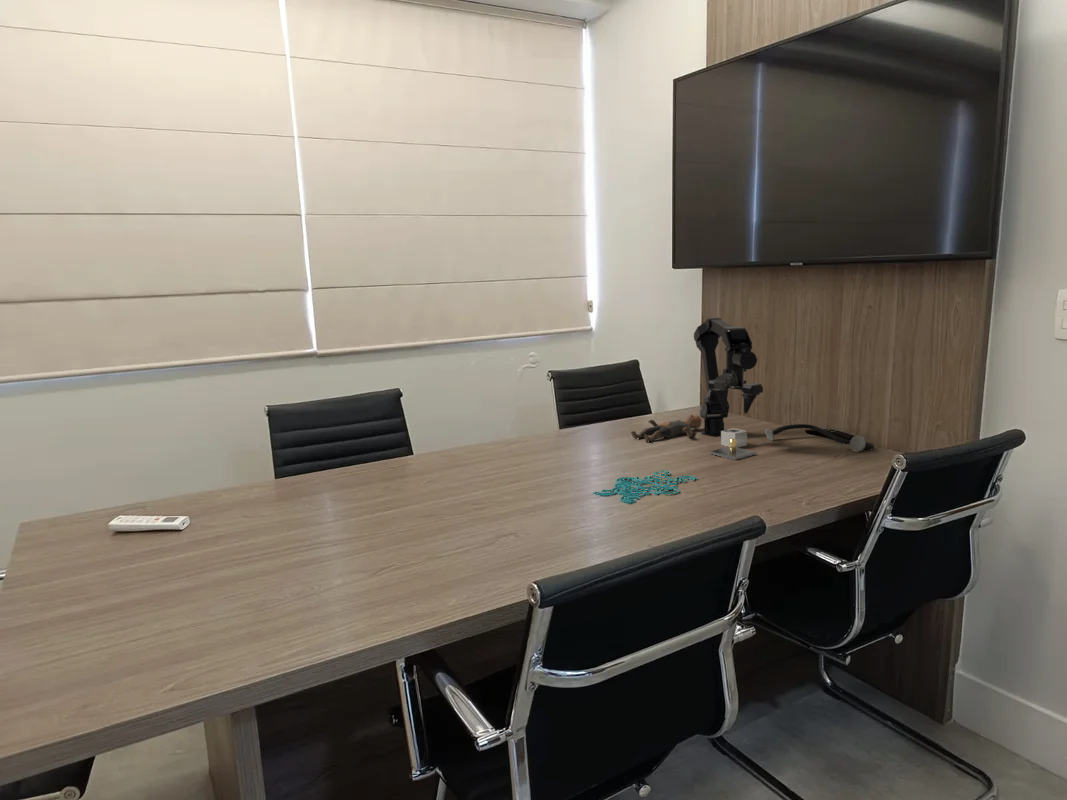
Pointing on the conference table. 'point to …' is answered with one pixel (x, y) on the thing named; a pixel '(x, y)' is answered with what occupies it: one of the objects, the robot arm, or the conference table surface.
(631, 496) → the decorative art
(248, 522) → the conference table surface
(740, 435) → the grey hollow square block
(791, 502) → the conference table surface
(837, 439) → the hose
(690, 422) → the figurine
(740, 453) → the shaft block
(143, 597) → the conference table surface
